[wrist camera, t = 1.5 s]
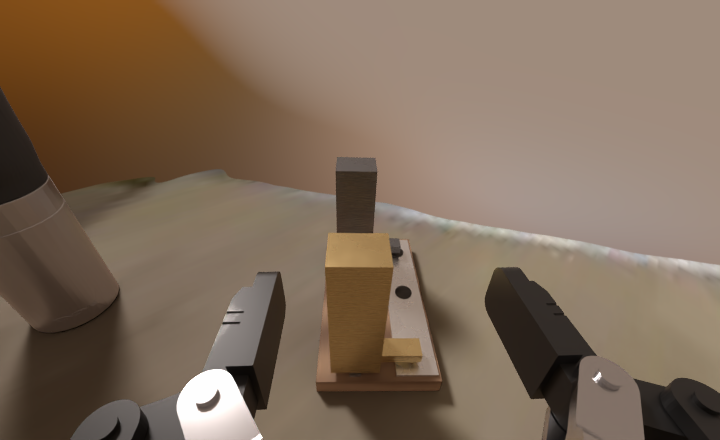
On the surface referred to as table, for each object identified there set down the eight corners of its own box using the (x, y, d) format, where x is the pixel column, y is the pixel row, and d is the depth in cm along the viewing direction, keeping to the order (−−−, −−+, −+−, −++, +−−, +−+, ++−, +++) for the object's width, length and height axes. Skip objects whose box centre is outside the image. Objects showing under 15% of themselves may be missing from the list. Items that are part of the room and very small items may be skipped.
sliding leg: (423, 373, 31) (454, 267, 22) (330, 374, 31) (325, 267, 22) (416, 338, 34) (441, 233, 25) (332, 338, 34) (328, 232, 25)
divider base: (438, 390, 32) (480, 280, 22) (317, 391, 32) (304, 279, 22) (407, 248, 51) (422, 154, 41) (330, 247, 50) (326, 152, 40)
